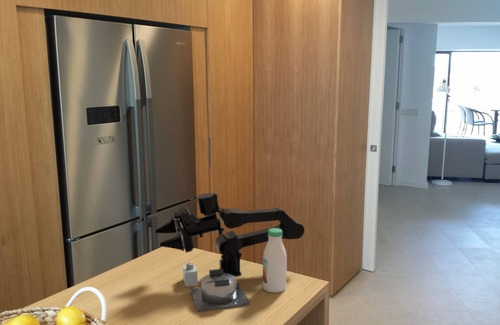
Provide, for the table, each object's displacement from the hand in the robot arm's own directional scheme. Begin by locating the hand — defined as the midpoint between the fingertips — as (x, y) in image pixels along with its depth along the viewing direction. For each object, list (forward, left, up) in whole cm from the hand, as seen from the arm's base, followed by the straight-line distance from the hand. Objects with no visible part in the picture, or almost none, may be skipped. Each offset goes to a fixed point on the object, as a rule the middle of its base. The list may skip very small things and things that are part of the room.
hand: (157, 237), depth 154 cm
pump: (-10, +3, -16) cm, 19 cm away
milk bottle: (-36, +15, -16) cm, 42 cm away
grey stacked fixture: (-17, +17, -16) cm, 29 cm away
